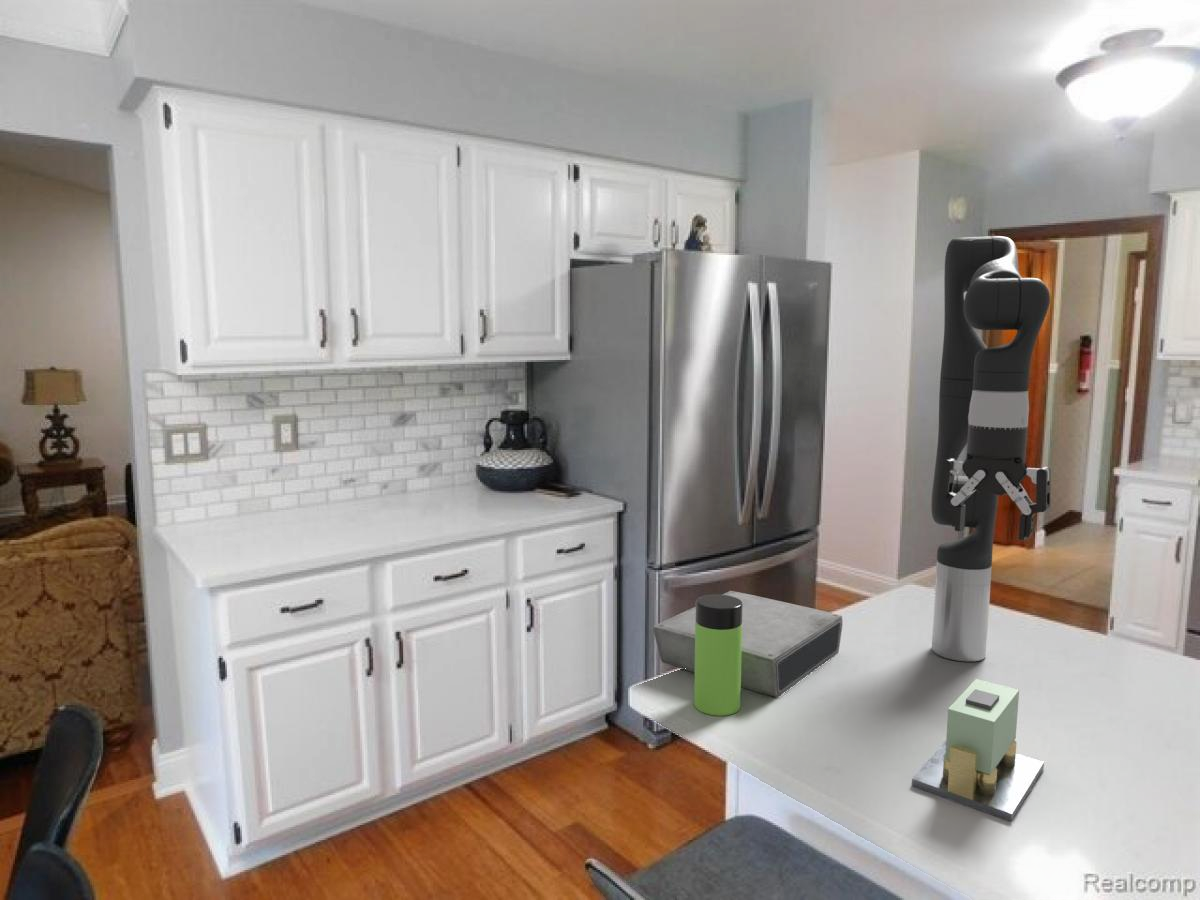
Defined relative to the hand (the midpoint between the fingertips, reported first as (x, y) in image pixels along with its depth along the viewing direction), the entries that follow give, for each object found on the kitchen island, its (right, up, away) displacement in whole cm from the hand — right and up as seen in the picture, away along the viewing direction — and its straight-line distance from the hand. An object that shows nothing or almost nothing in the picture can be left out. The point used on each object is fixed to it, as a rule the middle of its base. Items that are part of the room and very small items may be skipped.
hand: (990, 534), depth 116 cm
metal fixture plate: (-6, -32, -8) cm, 33 cm away
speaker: (-28, -26, +32) cm, 50 cm away
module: (-5, -28, -9) cm, 29 cm away
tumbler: (-37, -29, +13) cm, 49 cm away
